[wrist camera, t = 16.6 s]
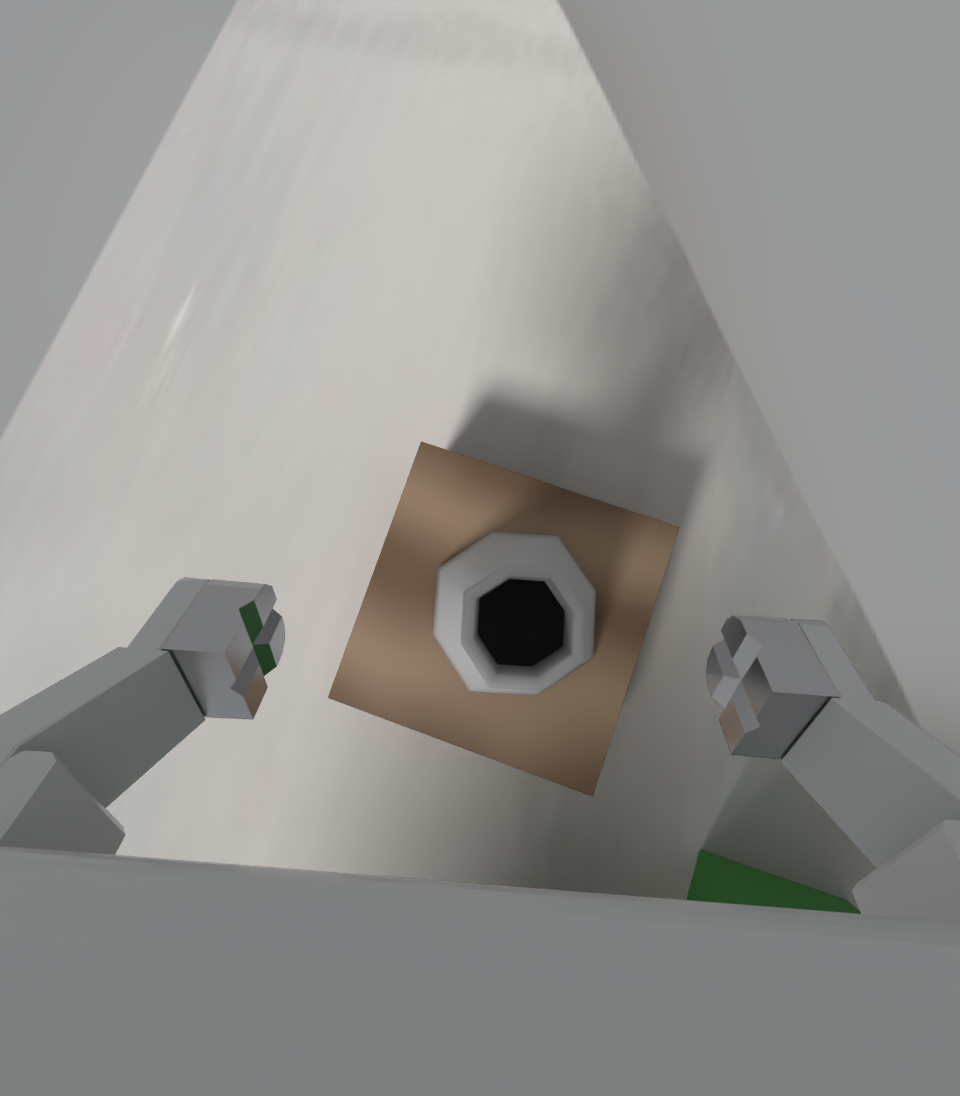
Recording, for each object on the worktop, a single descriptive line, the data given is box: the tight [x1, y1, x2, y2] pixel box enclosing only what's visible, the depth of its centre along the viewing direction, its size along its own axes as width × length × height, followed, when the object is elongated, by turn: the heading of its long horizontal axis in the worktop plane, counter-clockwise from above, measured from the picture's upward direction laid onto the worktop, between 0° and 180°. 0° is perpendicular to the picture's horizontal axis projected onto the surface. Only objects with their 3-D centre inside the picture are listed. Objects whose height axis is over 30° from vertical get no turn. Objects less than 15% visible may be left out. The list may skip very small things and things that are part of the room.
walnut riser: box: [328, 442, 679, 797], centre depth 25 cm, size 12×12×5 cm
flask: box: [433, 532, 596, 696], centre depth 18 cm, size 7×7×10 cm
